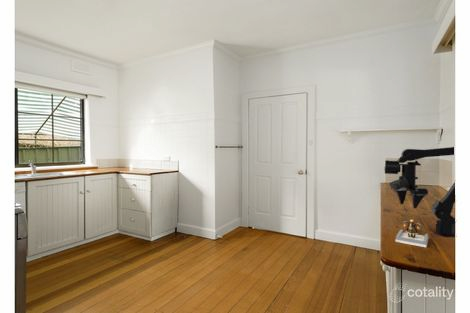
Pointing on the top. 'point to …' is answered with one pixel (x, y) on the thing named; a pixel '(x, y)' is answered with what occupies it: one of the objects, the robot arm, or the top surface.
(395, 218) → the top surface
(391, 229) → the top surface
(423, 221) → the top surface
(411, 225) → the figurine
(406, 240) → the tray
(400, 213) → the top surface
